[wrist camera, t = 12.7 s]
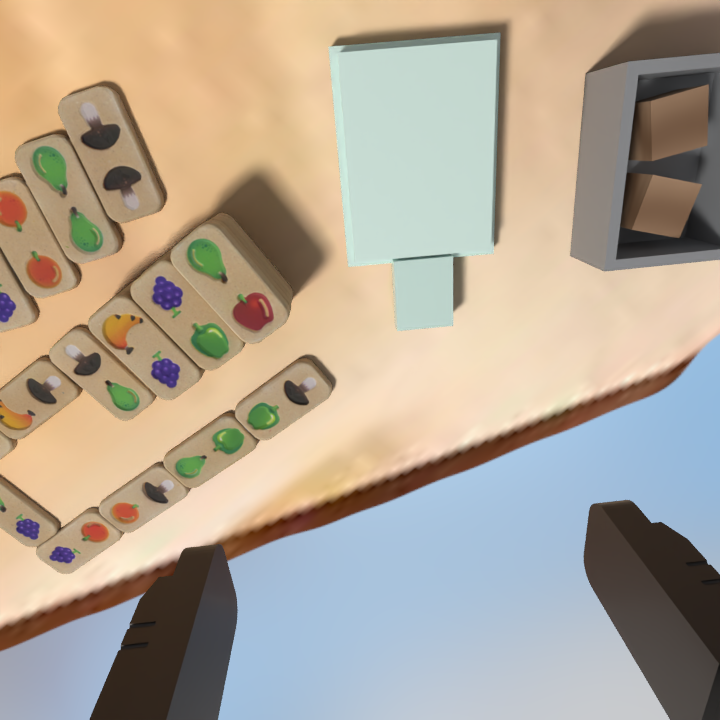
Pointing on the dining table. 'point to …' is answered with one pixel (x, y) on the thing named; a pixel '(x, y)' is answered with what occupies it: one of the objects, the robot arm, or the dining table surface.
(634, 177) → the walnut block
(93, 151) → the pile of dominoes
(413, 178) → the lid
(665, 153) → the walnut block
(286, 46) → the dining table surface
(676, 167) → the tub
